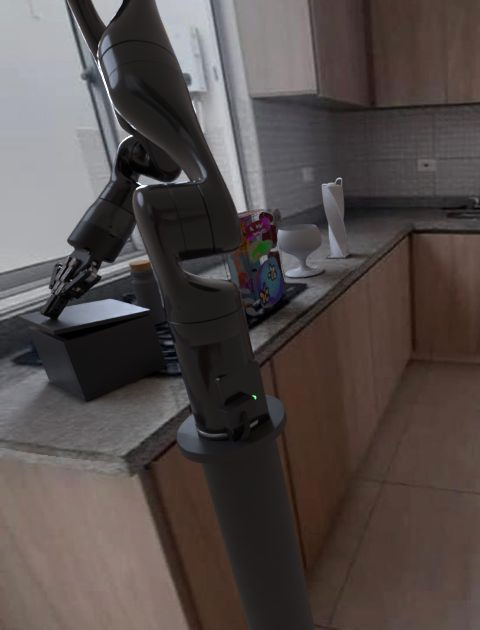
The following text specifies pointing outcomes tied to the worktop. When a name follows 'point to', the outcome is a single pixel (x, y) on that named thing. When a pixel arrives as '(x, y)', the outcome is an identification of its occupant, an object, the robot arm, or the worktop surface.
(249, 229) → the box
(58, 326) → the dark grey box lid
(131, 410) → the worktop surface
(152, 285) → the bottle
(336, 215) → the skyscraper
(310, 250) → the chalice
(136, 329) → the dark grey lidded box
